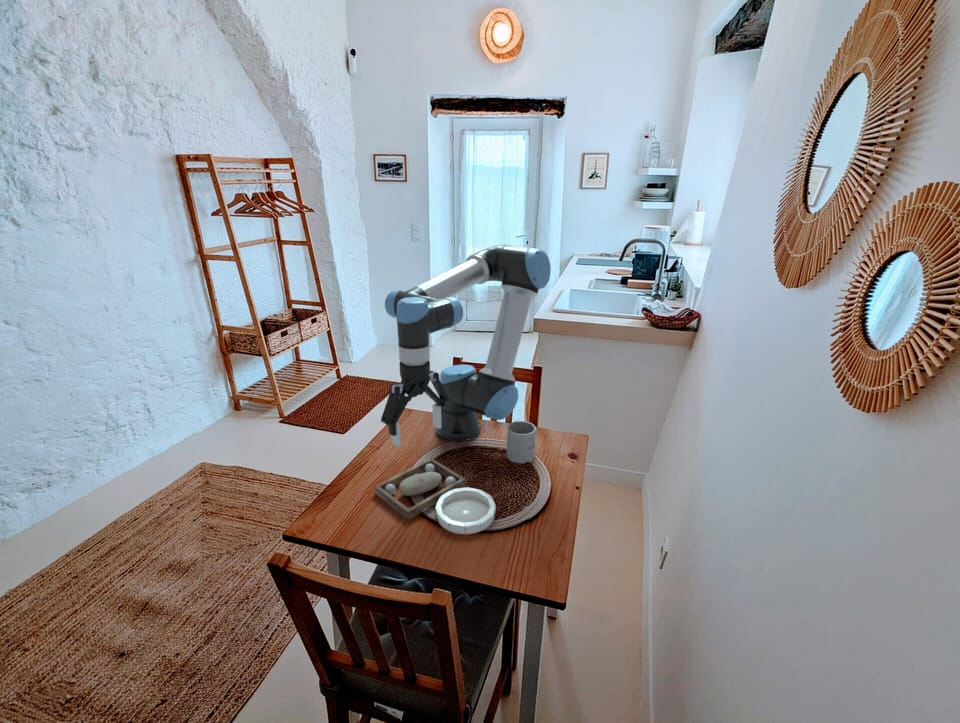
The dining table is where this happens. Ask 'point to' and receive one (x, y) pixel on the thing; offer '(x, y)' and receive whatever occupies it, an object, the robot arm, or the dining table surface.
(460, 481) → the parts frame
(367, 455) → the dining table surface
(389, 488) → the pebble
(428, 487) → the stone
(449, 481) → the pebble
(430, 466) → the pale glossy ball
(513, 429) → the mug
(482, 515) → the bowl
